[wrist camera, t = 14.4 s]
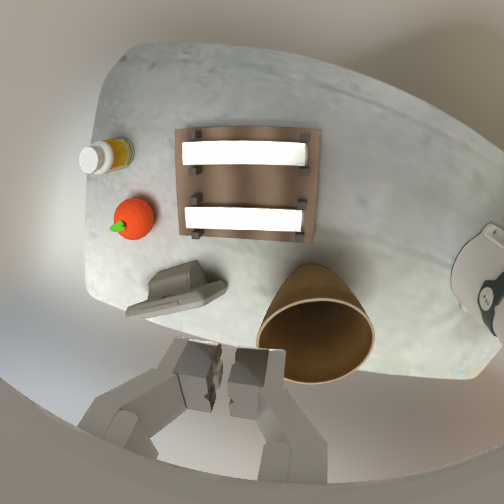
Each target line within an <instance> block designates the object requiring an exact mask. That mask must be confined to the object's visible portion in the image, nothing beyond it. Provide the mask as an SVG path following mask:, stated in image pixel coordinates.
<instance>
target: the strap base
mask: <svg viewBox="0 0 504 504" xmlns="http://www.w3.org/2000/svg"><path fill="white" fill-rule="evenodd" d="M209 141H270V142H293V143H308V164H307V166H294V165H271V164H187V165H183V144H182V143H186V142H209ZM319 154H320V130H318V129H305V128H288V127H252V126H240V127H204V128H187V129H175V165H176V188H177V205H178V219H179V232H180V235H191V236H192V239H199V238H200V237H201V236H208V237H225V238H241V239H257V240H272V241H287V242H301V243H313V237H314V226H315V214H316V202H317V188H318V173H319ZM186 206H229V207H265V208H290V209H304V210H305V214H304V227H303V232H296V231H272V230H244V229H210V228H186V218H185V207H186Z"/></svg>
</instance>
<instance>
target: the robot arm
mask: <svg viewBox="0 0 504 504" xmlns="http://www.w3.org/2000/svg"><path fill="white" fill-rule="evenodd" d="M493 232H494V233H493ZM451 286H452V290H453V293H454V294H455V296H456V297H457V298H458V299H459V301H460V307H461V309H462V310H463V311H464V312H468V311H469V312H470V313H471V314H472V315H473V316H474V318H475V319H476V320H477V321H478V322H479V323H480V324H482V325H484V324H485V325H486V327H487V329H488V330H489V331H490V332H491V333H492V334H493V335H494V336H496V337H498V338H499V340H500V341H501V343H502V344H503V346H504V230H503V229H501V228H499V227H498V226H496V225H494V224H492V223H489V224H487V225H486V227H485V228H484V229H483V231H482V232H481V233H480V234H479V235H478V236H477V237H475V238H474V239H472V240H471V241H470V242H469V243H467V245H466V246H465V247H464V248H463V249H462V251H461V252H460V254H459V255H458V257H457V259H456V261H455V264H454V266H453V270H452V275H451ZM221 353H222V349H221V345H220V344H219V343H213V342H207V341H201V340H196V339H188V338H183V337H178V336H177V337H175V338H174V339H173V340H172V342H171V344H170V346H169V348H168V350H167V351H166V353H165V355H164V357H163V358H162V360H161V362H160V364H159V366H158V367H157V369H150V370H148V371H147V372H145V373H143V374H141V375H139V376H137V377H135V378H133V379H132V380H130V381H128V382H126V383H124V384H122V385H120V386H118V387H116V388H114V389H112V390H110V391H108V392H106V393H104V394H102V395H100V396H98V397H96V398H95V400H94V401H93V403H92V404H91V406H90V407H89V409H88V410H87V412H86V413H85V415H84V416H83V418H82V420H81V421H80V423H79V424H78V426H77V427H76V426H74V425H73V424H70V423H69V422H67V421H65V420H63V419H62V418H60V417H57V416H56V415H55V414H53V413H51V412H49V411H48V410H46V409H44V408H43V407H41V406H40V405H38V404H37V403H35V402H33V401H32V400H30V399H29V398H27V397H26V396H25V395H23V394H22V393H20V392H19V391H17V390H16V389H15V388H13V387H12V386H11V385H9V384H8V383H7V382H5V381H4V380H3V379H1V378H0V504H504V444H502V445H499V446H497V447H495V448H492V449H490V450H488V451H485V452H482V453H480V454H477V455H475V456H472V457H469V458H466V459H463V460H460V461H457V462H454V463H452V464H448V465H444V466H441V467H438V468H433V469H430V470H426V471H421V472H417V473H412V474H408V475H402V476H397V477H391V478H385V479H377V480H370V481H359V482H348V483H327V465H328V464H327V463H328V462H327V459H328V457H327V455H328V453H327V442H326V441H325V439H324V438H323V437H322V435H321V434H320V433H319V431H318V430H317V429H316V428H315V426H314V425H313V423H312V422H311V421H310V419H309V418H308V417H307V415H306V414H305V413H304V412H303V410H302V409H301V407H300V406H299V405H298V403H297V402H296V400H295V399H294V398H293V396H292V395H291V393H290V392H289V391H288V390H287V389H283V380H284V369H285V356H286V351H285V350H281V349H270V350H269V349H266V348H255V347H245V346H238V347H237V350H236V353H235V363H234V364H233V365H232V368H231V371H230V375H229V379H228V396H229V397H230V398H231V399H230V403H229V408H230V416H233V417H240V418H246V419H253V420H256V422H257V424H258V426H259V428H260V430H261V432H262V434H263V436H264V438H265V440H266V442H267V443H266V444H265V445H264V447H263V452H262V458H261V464H260V469H259V475H258V479H257V481H255V480H247V479H240V478H233V477H227V476H221V475H215V474H211V473H206V472H201V471H197V470H193V469H189V468H185V467H181V466H177V465H173V464H170V463H166V462H163V461H160V460H157V456H158V454H159V453H158V452H157V450H156V448H155V446H154V445H153V443H152V442H151V440H150V438H151V437H152V436H153V435H155V434H156V433H157V432H159V431H160V430H162V429H163V428H164V427H165V426H167V425H168V424H169V423H170V422H172V421H173V420H174V419H176V418H177V417H178V416H179V415H180V414H182V413H183V412H184V411H186V408H187V409H192V410H198V411H203V412H209V413H211V412H212V410H213V407H214V403H215V400H216V391H215V390H216V389H218V388H219V387H220V384H221V380H222V374H223V362H222V361H221V359H220V356H221Z"/></svg>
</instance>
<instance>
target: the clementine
mask: <svg viewBox="0 0 504 504" xmlns="http://www.w3.org/2000/svg"><path fill="white" fill-rule="evenodd" d="M153 222H154V214H153V211H152V209H151V207H150V205H149V204H148V203H147V202H145V201H144V200H141V199H139V198H131V199H127V200H125V201H123V202H122V203H121V204H120V205H119V206H118V207H117V209H116V211H115V213H114V224H113V225H112V226H111V227H110V230H111V231H114V232H118V233H119V234H120V235H121V236H123V237H124V238H126V239H129V240H138V239H140V238H142V237H144V236H146V235H147V234H148V233H149V232H150V230H151V228H152V226H153Z"/></svg>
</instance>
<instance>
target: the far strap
mask: <svg viewBox="0 0 504 504" xmlns="http://www.w3.org/2000/svg"><path fill="white" fill-rule="evenodd" d="M304 214H305V210H304V209H290V208H265V207H229V206H186V207H185V218H186V228H210V229H244V230H272V231H296V232H303V227H304Z"/></svg>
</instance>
